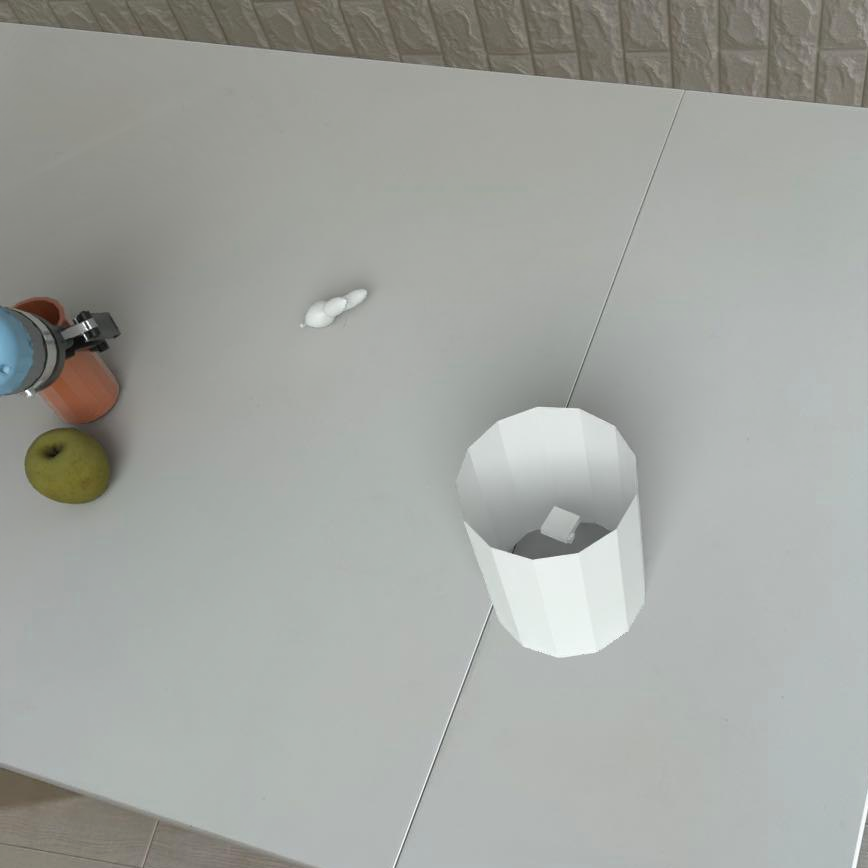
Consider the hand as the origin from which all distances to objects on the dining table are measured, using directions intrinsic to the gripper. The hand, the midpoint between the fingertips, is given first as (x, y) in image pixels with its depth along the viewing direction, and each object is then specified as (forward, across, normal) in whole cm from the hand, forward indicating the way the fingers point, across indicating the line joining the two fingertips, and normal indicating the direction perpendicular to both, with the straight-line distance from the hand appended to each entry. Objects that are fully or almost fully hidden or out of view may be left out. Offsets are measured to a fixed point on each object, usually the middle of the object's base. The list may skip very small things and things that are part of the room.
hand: (62, 355), depth 115 cm
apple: (-7, -4, -14) cm, 16 cm away
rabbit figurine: (-3, +29, -10) cm, 31 cm away
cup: (0, 0, -5) cm, 5 cm away
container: (-34, +34, -40) cm, 63 cm away
